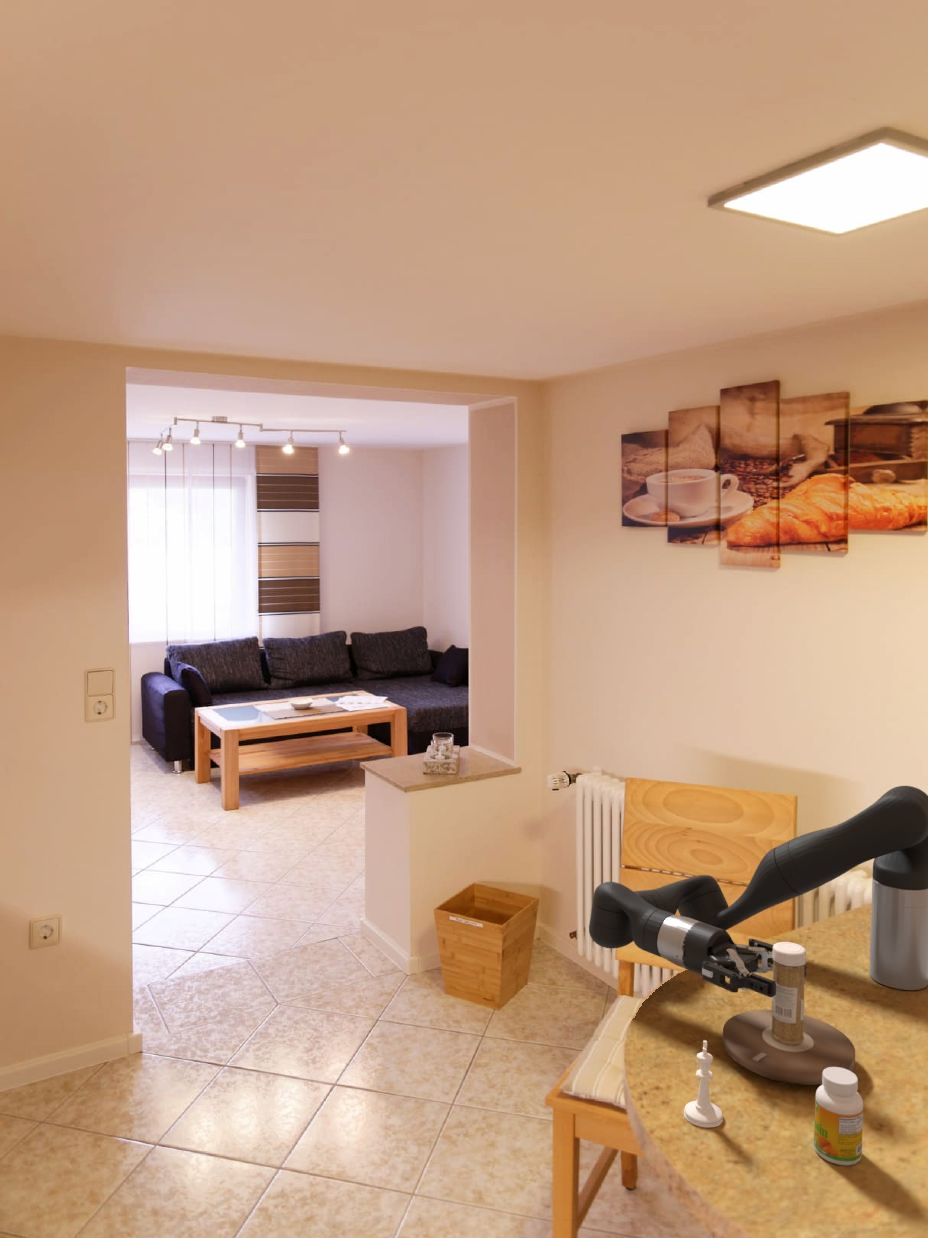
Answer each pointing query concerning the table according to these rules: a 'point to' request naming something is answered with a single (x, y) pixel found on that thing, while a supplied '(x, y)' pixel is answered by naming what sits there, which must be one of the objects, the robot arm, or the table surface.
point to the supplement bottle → (838, 1117)
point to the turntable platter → (786, 1048)
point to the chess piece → (703, 1096)
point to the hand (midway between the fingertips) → (790, 981)
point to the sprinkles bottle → (788, 993)
